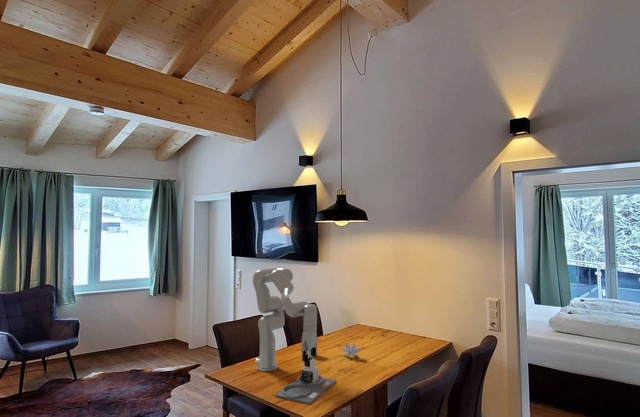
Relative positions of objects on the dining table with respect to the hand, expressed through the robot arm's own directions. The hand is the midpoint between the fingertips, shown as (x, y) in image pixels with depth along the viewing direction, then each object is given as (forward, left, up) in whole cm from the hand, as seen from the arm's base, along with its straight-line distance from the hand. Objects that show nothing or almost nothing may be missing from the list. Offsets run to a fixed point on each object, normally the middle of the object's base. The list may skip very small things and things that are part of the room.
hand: (309, 358), depth 207 cm
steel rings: (+1, -8, -12) cm, 14 cm away
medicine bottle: (0, 0, -12) cm, 12 cm away
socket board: (+3, -8, -13) cm, 15 cm away
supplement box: (-22, +41, -13) cm, 49 cm away
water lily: (+5, +49, -14) cm, 51 cm away
